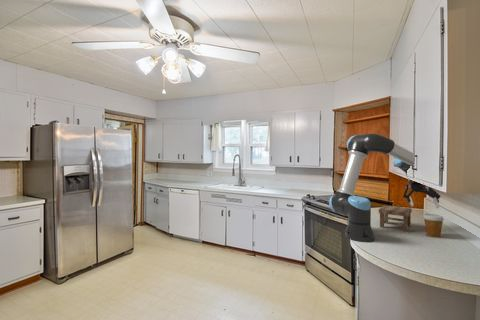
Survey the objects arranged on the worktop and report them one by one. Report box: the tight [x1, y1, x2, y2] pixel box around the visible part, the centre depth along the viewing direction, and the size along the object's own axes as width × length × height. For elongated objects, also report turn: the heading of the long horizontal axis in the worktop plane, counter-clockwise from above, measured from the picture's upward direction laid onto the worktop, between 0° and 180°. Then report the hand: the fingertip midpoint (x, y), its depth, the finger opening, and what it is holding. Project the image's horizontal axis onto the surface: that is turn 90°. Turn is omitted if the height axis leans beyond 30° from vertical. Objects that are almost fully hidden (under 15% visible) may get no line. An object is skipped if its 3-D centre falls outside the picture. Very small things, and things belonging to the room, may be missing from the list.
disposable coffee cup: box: [422, 213, 445, 239], centre depth 139 cm, size 10×10×12 cm
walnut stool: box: [378, 205, 413, 233], centre depth 158 cm, size 16×16×12 cm
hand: (425, 206), depth 149 cm, fingers open, 13 cm apart
